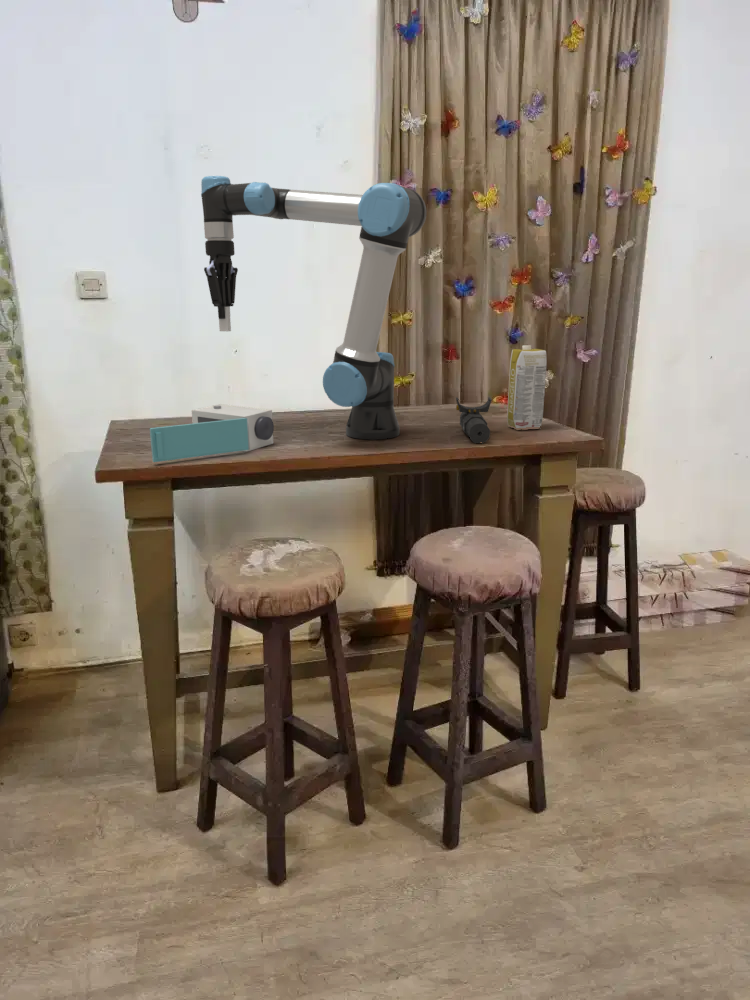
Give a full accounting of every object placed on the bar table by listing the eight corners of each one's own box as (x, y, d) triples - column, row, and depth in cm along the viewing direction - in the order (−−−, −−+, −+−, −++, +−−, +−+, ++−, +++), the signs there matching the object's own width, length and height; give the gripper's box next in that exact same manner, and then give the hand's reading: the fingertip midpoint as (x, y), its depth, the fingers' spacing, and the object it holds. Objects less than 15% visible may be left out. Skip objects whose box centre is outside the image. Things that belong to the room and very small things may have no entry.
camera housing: (278, 444, 193) (276, 408, 191) (251, 452, 184) (249, 415, 181) (222, 436, 203) (219, 401, 200) (193, 443, 194) (191, 407, 191)
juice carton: (532, 424, 218) (537, 343, 211) (544, 430, 211) (551, 346, 204) (503, 426, 216) (508, 344, 209) (515, 431, 209) (520, 347, 202)
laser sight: (460, 445, 194) (462, 407, 191) (452, 427, 215) (453, 394, 212) (497, 445, 194) (499, 407, 191) (485, 427, 215) (486, 394, 212)
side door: (248, 448, 185) (247, 417, 182) (251, 450, 183) (250, 418, 181) (152, 461, 172) (149, 428, 170) (154, 462, 171) (151, 429, 168)
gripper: (220, 241, 200) (226, 329, 207) (193, 239, 188) (200, 332, 195) (244, 240, 197) (249, 329, 204) (217, 238, 185) (223, 333, 192)
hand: (225, 331), depth 200 cm, fingers closed
